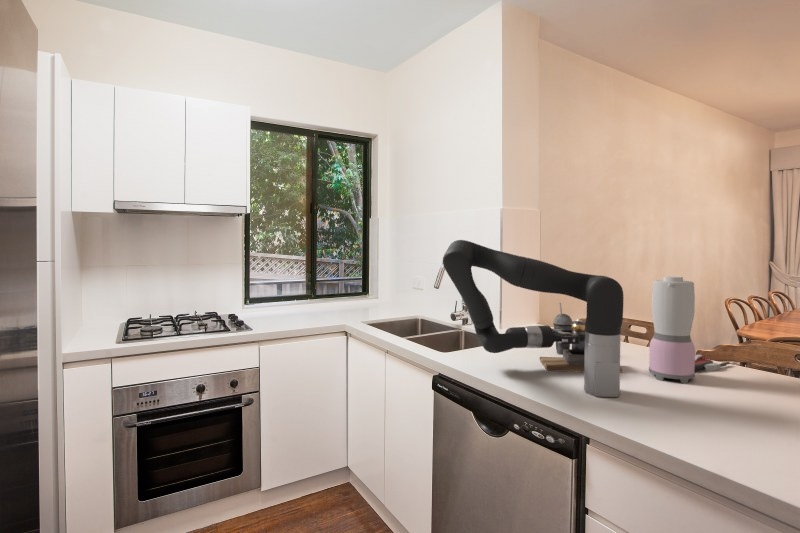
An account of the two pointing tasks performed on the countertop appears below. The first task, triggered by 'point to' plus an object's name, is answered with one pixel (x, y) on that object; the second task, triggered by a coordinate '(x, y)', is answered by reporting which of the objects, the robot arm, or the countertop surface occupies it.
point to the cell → (578, 329)
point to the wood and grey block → (565, 362)
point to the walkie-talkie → (706, 364)
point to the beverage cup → (562, 323)
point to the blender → (672, 329)
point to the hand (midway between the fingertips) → (580, 335)
